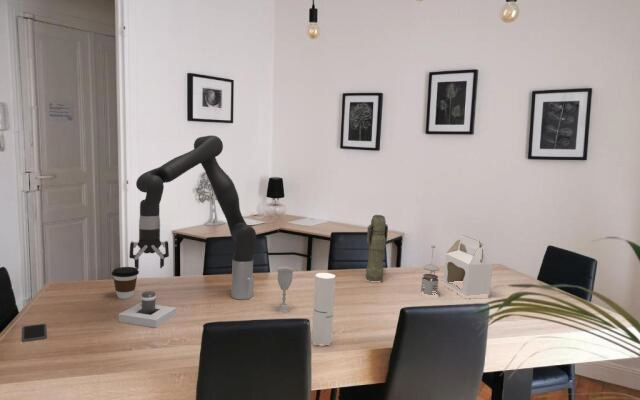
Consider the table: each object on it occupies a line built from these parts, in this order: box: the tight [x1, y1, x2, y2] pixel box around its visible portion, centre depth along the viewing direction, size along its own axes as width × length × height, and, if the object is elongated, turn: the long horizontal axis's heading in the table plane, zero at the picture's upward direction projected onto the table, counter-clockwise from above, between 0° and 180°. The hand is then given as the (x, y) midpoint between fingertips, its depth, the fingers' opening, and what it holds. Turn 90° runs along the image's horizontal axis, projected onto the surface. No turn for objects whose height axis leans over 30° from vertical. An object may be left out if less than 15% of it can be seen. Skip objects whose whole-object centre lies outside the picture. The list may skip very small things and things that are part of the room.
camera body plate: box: [118, 301, 177, 328], centre depth 187 cm, size 16×14×4 cm
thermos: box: [365, 214, 389, 281], centre depth 254 cm, size 9×12×35 cm
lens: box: [141, 290, 157, 315], centre depth 187 cm, size 5×5×10 cm
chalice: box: [276, 266, 295, 313], centre depth 204 cm, size 7×7×18 cm
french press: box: [420, 245, 441, 295], centre depth 236 cm, size 10×12×25 cm
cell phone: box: [21, 323, 48, 343], centre depth 169 cm, size 7×14×1 cm, turn 31°
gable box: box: [442, 234, 493, 296], centre depth 244 cm, size 22×13×28 cm, turn 16°
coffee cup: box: [111, 266, 140, 300], centre depth 209 cm, size 11×11×12 cm
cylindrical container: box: [311, 272, 336, 345], centre depth 173 cm, size 7×7×25 cm
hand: (149, 268), depth 185 cm, fingers open, 8 cm apart
